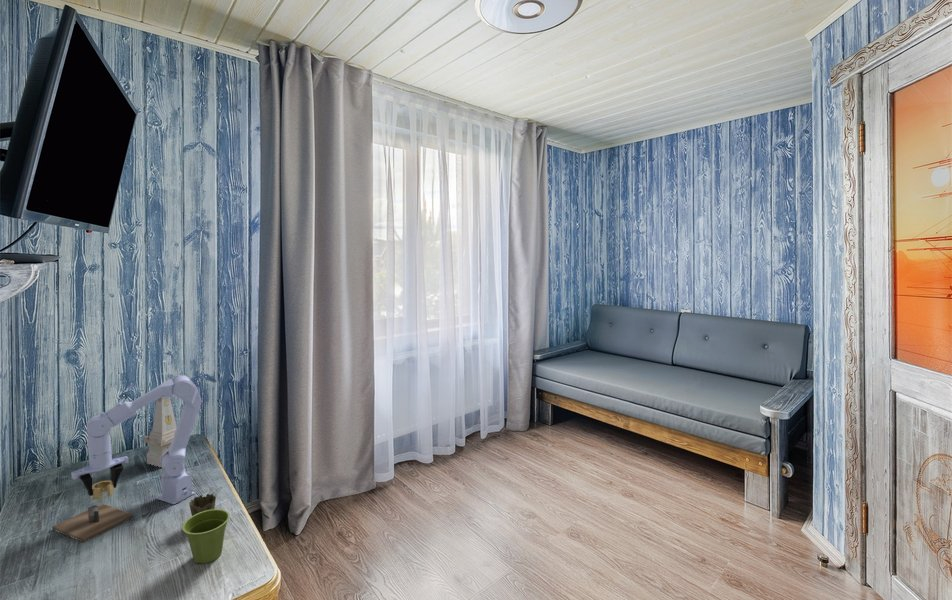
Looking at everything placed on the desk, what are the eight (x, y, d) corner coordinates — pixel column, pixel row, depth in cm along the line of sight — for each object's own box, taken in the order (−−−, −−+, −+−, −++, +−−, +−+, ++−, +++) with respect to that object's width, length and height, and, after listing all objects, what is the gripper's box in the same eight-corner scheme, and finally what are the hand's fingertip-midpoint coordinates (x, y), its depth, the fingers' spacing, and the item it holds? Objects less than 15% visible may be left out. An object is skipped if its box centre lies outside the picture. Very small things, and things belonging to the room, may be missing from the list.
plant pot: (174, 563, 127) (172, 527, 125) (212, 539, 138) (210, 505, 136) (203, 575, 122) (201, 537, 121) (239, 549, 133) (238, 514, 132)
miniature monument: (162, 468, 180) (158, 398, 177) (145, 463, 183) (141, 394, 180) (186, 458, 189) (183, 390, 186) (170, 453, 193) (167, 387, 190)
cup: (188, 531, 141) (187, 508, 140) (192, 518, 148) (191, 496, 147) (214, 526, 144) (214, 503, 143) (218, 513, 151) (217, 491, 150)
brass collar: (89, 495, 146) (88, 485, 146) (110, 488, 151) (109, 478, 150) (94, 501, 143) (94, 490, 143) (115, 493, 148) (115, 483, 147)
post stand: (133, 517, 147) (132, 501, 147) (83, 542, 134) (82, 525, 134) (102, 506, 153) (101, 491, 152) (52, 529, 140) (51, 513, 139)
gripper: (122, 441, 154) (124, 478, 155) (67, 456, 142) (70, 496, 143) (130, 446, 150) (132, 484, 151) (74, 462, 138) (76, 503, 139)
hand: (102, 490), depth 147 cm, fingers closed on brass collar, 6 cm apart
